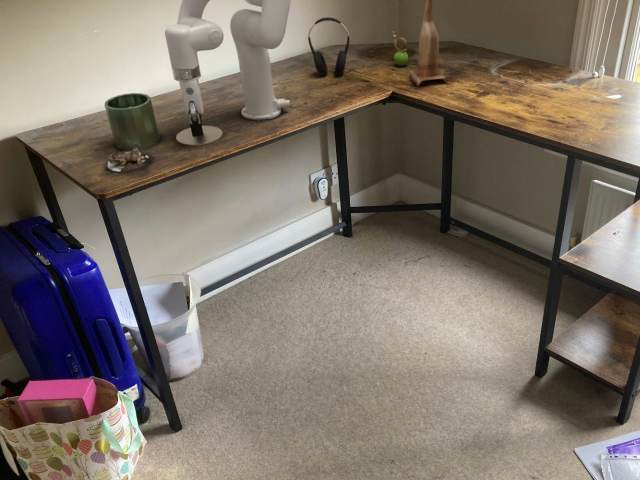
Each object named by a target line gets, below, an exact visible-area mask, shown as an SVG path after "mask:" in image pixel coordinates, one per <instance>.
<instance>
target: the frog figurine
mask: <svg viewBox="0 0 640 480" xmlns="http://www.w3.org/2000/svg"><path fill="white" fill-rule="evenodd" d="M141 154H142V152H140V151H139V148H135V149H131V151H119V152H117V153H115V154H112V153H110V154H109V156H108V157H107V161H108V162H107V169H108V170H110V171H113V172H117V173H119V172H121V171H122V169H124V168H126V166H125V165H126V164H130V163H133V162H136V164H138V165H140V164H142V163H144V162H146V160H145V159H144V158H147V159H149V155H148V154H145V156H142V155H141ZM143 159H144V160H143Z"/></svg>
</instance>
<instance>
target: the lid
mask: <svg viewBox="0 0 640 480" xmlns="http://www.w3.org/2000/svg"><path fill="white" fill-rule="evenodd" d="M200 122H201V119H200ZM202 129H203V136H198V137H193V136H192V132H191V127H189V128H188V127H187V128H185V129H183V130H181V131H180V132H178V133H177V134H176V137H175V138H176V139H175V140H176V142H177V143H178V144H180V145H183V146H188V147H198V146H199V147H200V146H207V145H210V144H212V143H216V142H217V141H219V140H221V138H222V137H223V136H224V135H223V134H224V133H223V130H222V129H221V128H219V127H217V126H214V125H213V126H212V125H202Z"/></svg>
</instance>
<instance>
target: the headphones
mask: <svg viewBox="0 0 640 480" xmlns="http://www.w3.org/2000/svg"><path fill="white" fill-rule="evenodd" d="M330 21H331V22H336V23H337V24H340V25H341V27H343V28H344V29H345V31H346V33H347V39H346V45H345V49H344V50H339V51H338V54H337V58H336V62H335V66H334V74H335V75H338V76H340V75H343V73H344V72H345V70H346V66H347V63H348V52H349V51H348V50H349V47H350V46H349V45H350V33H349V30H348V29H347V27H346V26H345V25H344V24H343V23H342V22H341V20H339V19H337V18H335V17H329V16H328V17H322V18H320V19H317V20H316V21H315V22H314V24H313V25H312V26H311V27H310V29H309V31H308V34H307V39H308V41H307V42H308V44H309V48H310V51H311V53H312V62H313V65H314V68H315V70H316V72H317V73H318V75H320V76H326V75H327V74H328V66H327V62H326V59H325V57H324V55H323V53H322V51H320V50H317V51H316V50H315V48H314V46H313V43H312V41H311V37H310V36H311V32H312V30H313V28H314V26H316V25H318V24H319V23H322V22H330Z"/></svg>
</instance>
